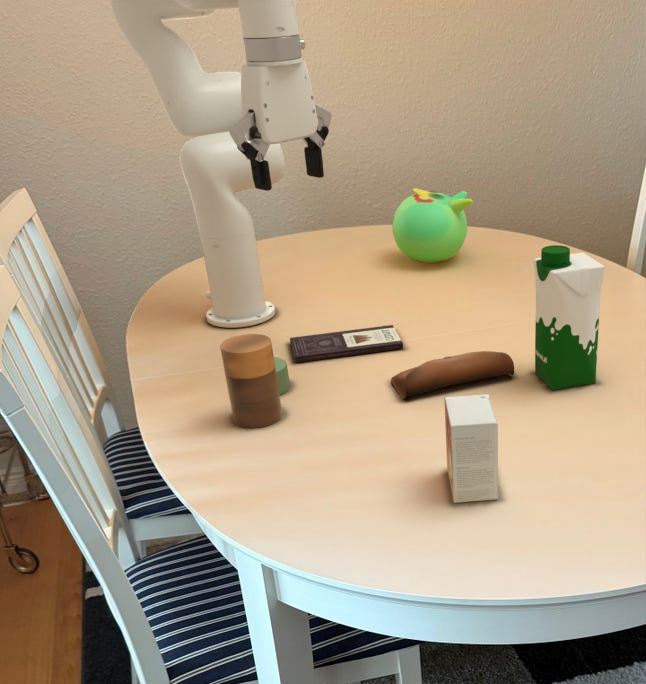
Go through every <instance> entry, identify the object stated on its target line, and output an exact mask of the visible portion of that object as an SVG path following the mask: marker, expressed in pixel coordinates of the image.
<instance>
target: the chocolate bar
mask: <svg viewBox="0 0 646 684" xmlns="http://www.w3.org/2000/svg"><path fill="white" fill-rule="evenodd" d="M399 335H400V334H398V332H397V330H396V328H395V327H394V325H393V324H387V325H381V326H373V327H366V328H365V327H364V328H358V329H356V328H355V329H348V330H340V331H334V332H325V333H318V334H309V335H301V336H293V337H289V342H290V347H291V350H292V354H293V355H292V356H293V358H294V362H295V363H304V362H310V361H318V360H326V359H334V358H341V357H349V356H350V357H351V356H357V355H365V354H372V353H379V352H388V351H395V350H402V349H404V343H403V341H402V339H401V337H400V336H399Z"/></svg>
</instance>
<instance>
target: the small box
mask: <svg viewBox="0 0 646 684" xmlns="http://www.w3.org/2000/svg"><path fill="white" fill-rule="evenodd" d="M443 401H444V415H445V416H444V418H445V423H444V424H445V441H446V442H445V444H446V445H445V447H446V450H445V451H446V468H447V474H448V475H447V476H448V478H449V485H450V490H451V498H452V502H453V503H454V504H459V503H467V502H482V501H493V500H498V499H499V423H498V421H497V420H498V419H497V418H496V415H495V412H494V409H493V405H492V401H491V397H490V394H488V393H487V394H486V393H485V394H474V395H473V394H472V395H459V396H445V397H444V399H443Z"/></svg>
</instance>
